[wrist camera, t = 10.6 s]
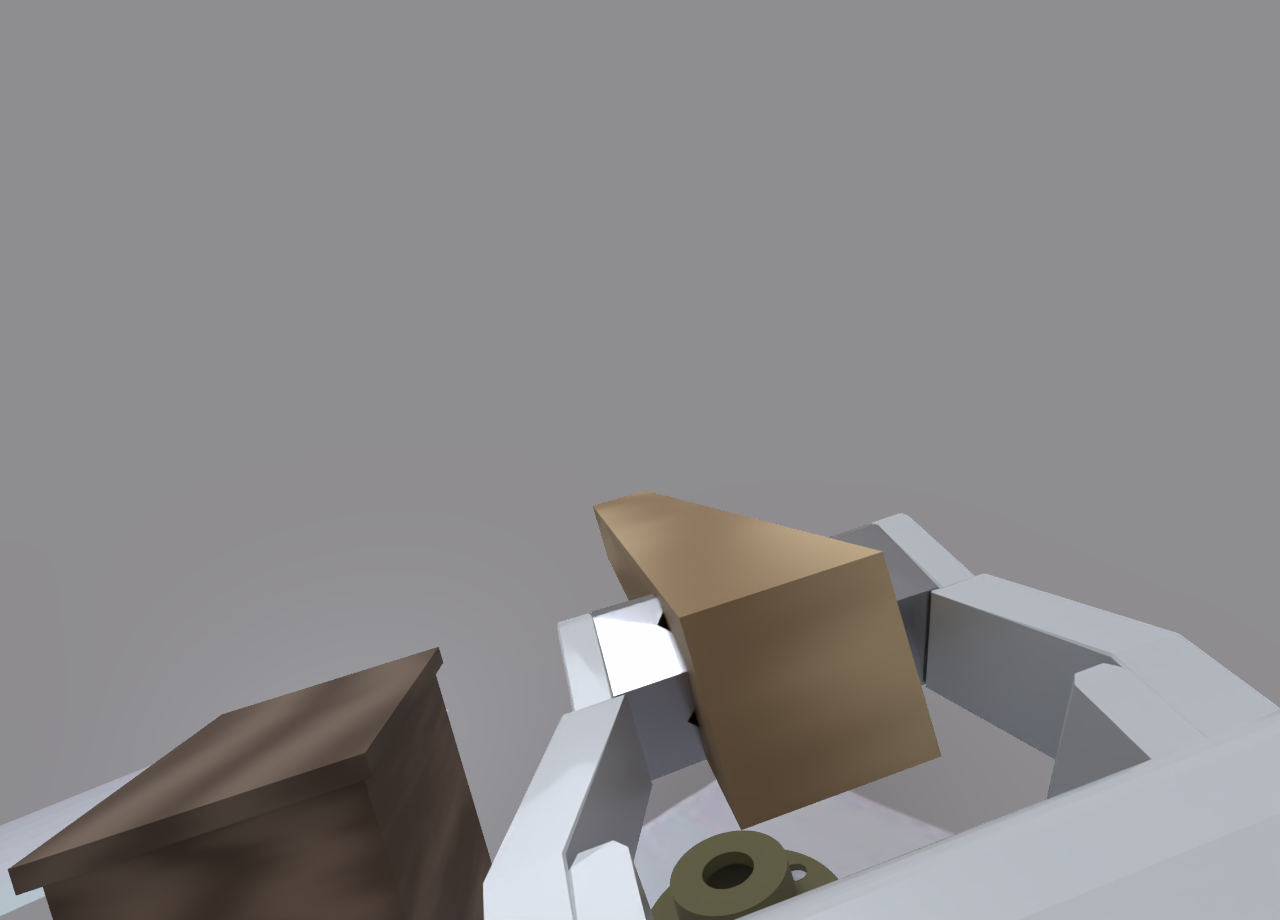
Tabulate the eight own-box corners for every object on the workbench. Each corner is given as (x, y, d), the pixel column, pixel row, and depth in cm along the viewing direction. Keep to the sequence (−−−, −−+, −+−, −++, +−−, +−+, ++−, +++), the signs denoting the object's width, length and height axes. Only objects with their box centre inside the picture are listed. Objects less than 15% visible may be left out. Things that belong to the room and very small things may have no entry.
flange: (586, 892, 48) (721, 1004, 35) (731, 784, 56) (881, 845, 44) (604, 952, 48) (744, 1085, 35) (746, 836, 56) (899, 910, 44)
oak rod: (740, 830, 7) (680, 618, 7) (608, 558, 29) (592, 506, 29) (942, 755, 7) (882, 551, 7) (659, 542, 29) (644, 490, 29)
